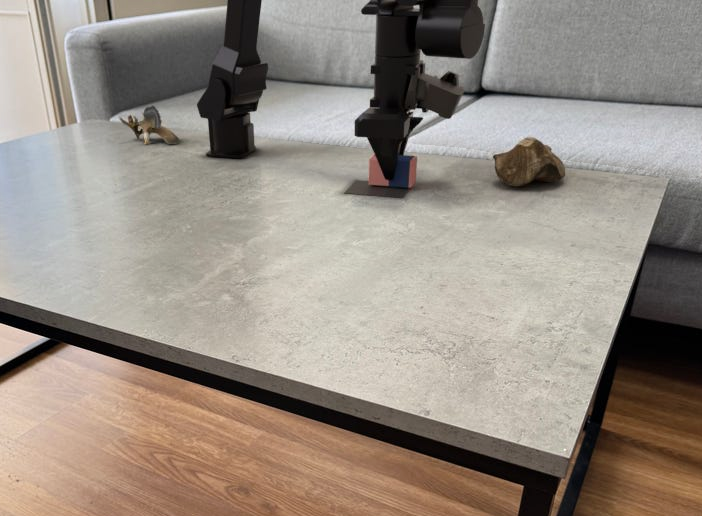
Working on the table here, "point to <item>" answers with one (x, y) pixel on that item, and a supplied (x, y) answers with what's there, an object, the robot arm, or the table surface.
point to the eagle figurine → (150, 126)
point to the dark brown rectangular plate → (375, 190)
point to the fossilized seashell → (528, 163)
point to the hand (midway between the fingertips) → (392, 176)
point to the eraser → (403, 173)
